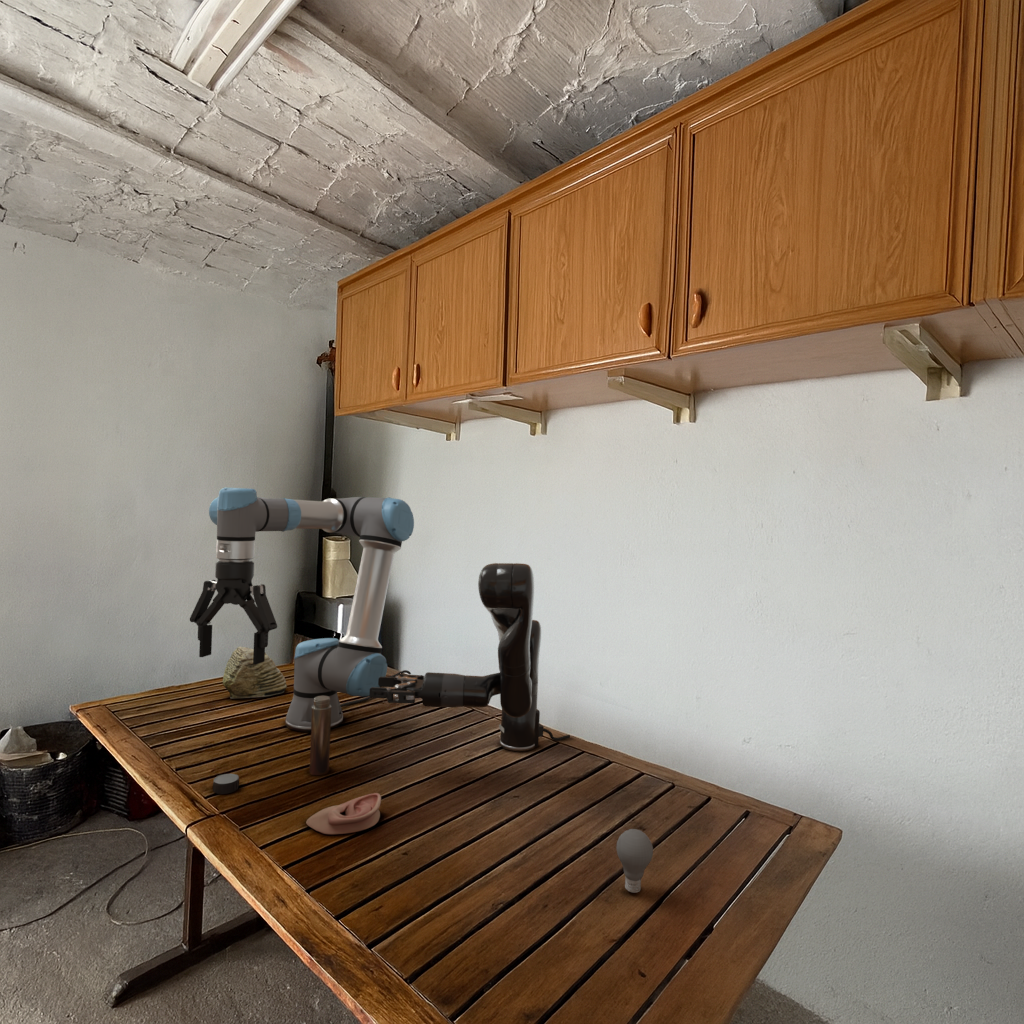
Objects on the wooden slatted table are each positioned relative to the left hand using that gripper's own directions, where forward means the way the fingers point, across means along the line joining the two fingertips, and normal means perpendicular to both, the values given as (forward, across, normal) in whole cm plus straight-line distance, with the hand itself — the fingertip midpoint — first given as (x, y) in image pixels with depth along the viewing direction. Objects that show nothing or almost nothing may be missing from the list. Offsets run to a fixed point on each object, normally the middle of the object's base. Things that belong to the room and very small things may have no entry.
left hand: (231, 659), depth 135 cm
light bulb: (+28, +86, -7) cm, 91 cm away
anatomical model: (+28, +30, -3) cm, 41 cm away
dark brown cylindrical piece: (+28, +13, +14) cm, 34 cm away
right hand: (+8, +25, +17) cm, 31 cm away
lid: (+26, 0, 0) cm, 26 cm away
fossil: (+28, -36, +55) cm, 71 cm away
